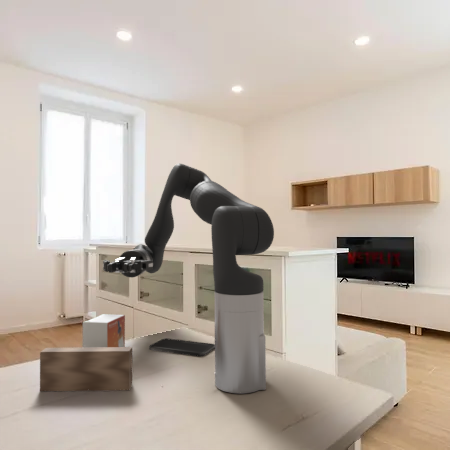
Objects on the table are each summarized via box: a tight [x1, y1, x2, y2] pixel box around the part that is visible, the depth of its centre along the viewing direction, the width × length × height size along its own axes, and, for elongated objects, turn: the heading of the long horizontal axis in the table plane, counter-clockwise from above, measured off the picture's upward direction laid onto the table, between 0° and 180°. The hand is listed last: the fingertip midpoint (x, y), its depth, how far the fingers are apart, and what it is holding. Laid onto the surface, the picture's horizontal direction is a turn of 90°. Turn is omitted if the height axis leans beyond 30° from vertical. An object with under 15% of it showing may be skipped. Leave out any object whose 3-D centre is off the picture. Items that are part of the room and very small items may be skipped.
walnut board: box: [39, 346, 133, 392], centre depth 68 cm, size 16×2×7 cm, turn 91°
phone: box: [148, 337, 215, 357], centre depth 91 cm, size 8×1×15 cm
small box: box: [82, 313, 126, 347], centre depth 78 cm, size 8×6×10 cm
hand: (118, 268), depth 89 cm, fingers open, 3 cm apart
